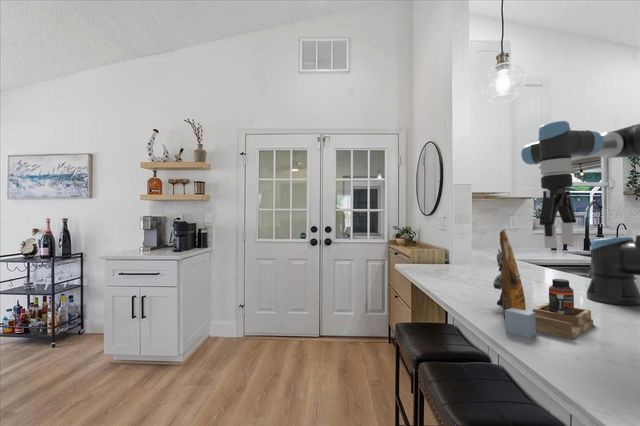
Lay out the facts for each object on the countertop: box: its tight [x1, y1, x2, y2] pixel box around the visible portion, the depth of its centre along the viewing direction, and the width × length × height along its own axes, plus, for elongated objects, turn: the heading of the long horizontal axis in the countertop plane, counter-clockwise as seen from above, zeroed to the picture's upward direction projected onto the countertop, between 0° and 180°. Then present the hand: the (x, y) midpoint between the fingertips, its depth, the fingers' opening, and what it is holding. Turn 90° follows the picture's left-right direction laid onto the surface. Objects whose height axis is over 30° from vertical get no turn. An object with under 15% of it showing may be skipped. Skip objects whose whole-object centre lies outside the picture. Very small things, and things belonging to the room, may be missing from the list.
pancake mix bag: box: [499, 228, 527, 319], centre depth 104 cm, size 7×19×28 cm, turn 141°
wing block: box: [504, 308, 537, 339], centre depth 88 cm, size 4×6×6 cm, turn 36°
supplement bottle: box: [548, 278, 575, 316], centre depth 95 cm, size 6×6×11 cm
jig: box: [532, 302, 594, 340], centre depth 93 cm, size 18×12×4 cm, turn 126°
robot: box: [492, 249, 503, 307], centre depth 117 cm, size 20×5×20 cm, turn 137°
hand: (559, 246), depth 95 cm, fingers open, 13 cm apart
